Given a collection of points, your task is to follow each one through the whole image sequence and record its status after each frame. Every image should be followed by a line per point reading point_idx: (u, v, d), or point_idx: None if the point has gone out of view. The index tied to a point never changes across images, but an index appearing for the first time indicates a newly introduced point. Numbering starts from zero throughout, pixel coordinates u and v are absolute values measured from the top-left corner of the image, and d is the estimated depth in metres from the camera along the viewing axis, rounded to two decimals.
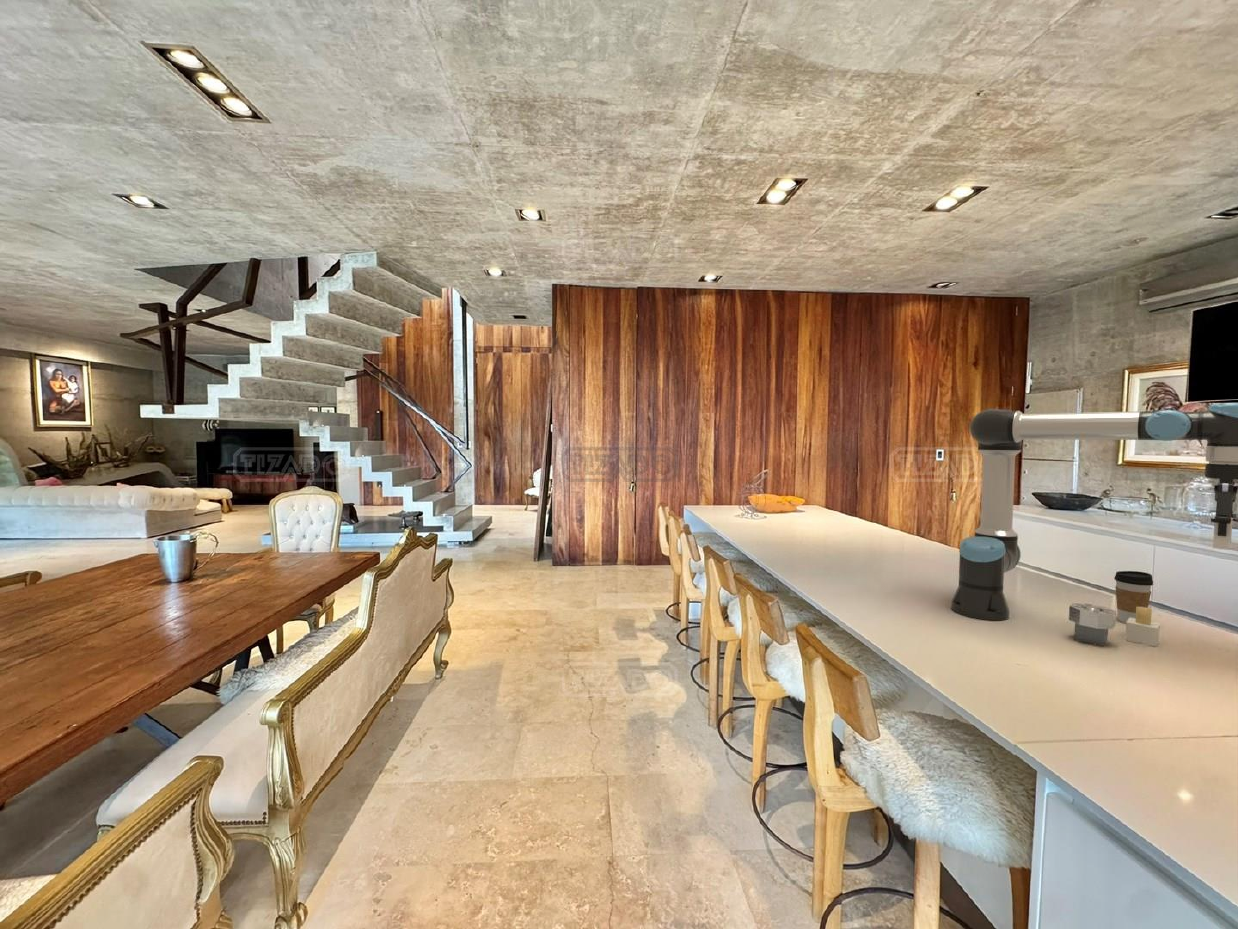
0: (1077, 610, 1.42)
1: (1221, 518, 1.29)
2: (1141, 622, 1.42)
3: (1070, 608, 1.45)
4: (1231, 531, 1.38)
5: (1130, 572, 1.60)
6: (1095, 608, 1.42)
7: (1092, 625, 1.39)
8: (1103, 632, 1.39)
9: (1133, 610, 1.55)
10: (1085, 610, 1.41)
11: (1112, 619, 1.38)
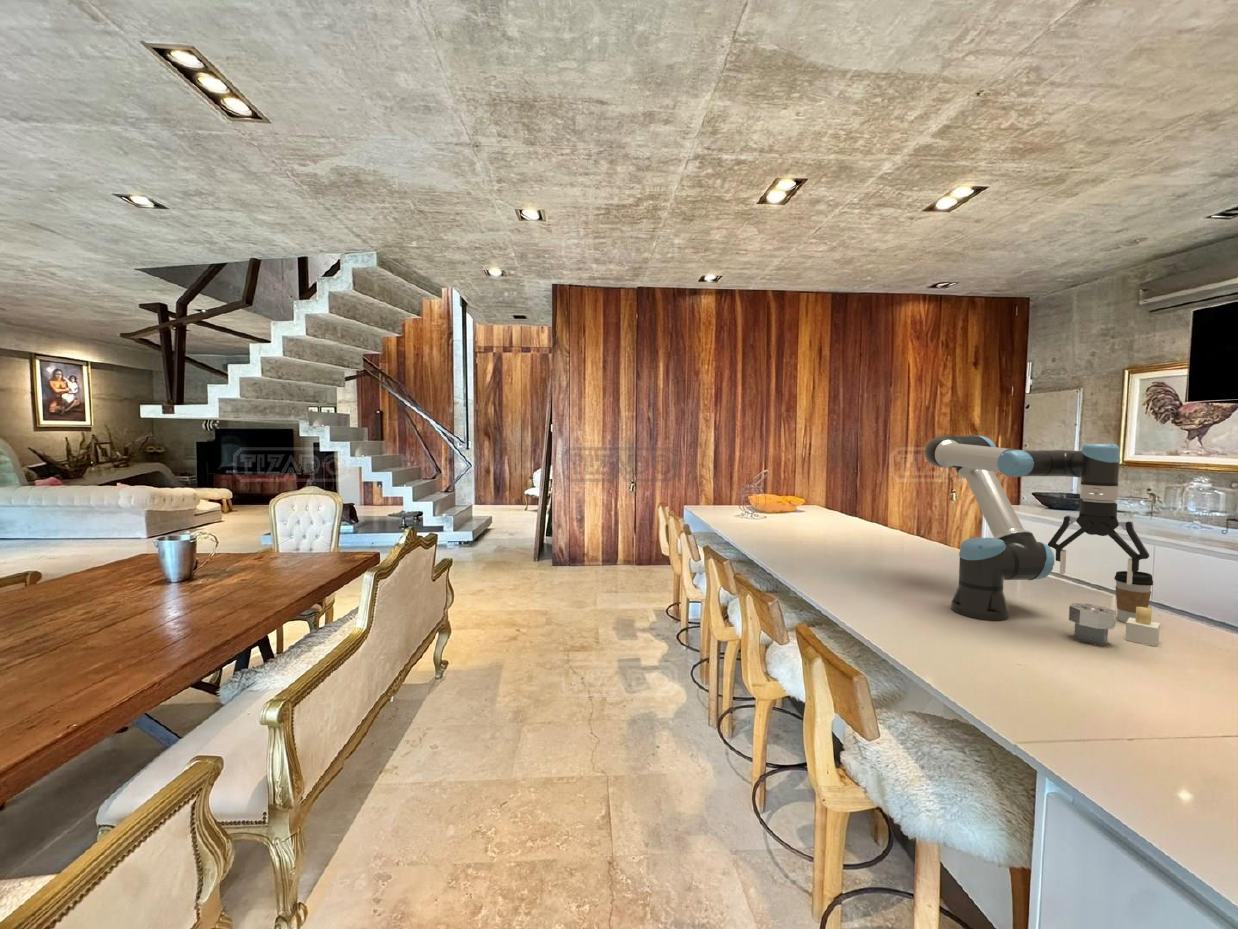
0: (1077, 610, 1.42)
1: None
2: (1141, 622, 1.42)
3: (1070, 608, 1.45)
4: (1127, 572, 1.36)
5: None
6: (1095, 608, 1.42)
7: (1092, 625, 1.39)
8: (1103, 632, 1.39)
9: (1133, 610, 1.55)
10: (1085, 610, 1.41)
11: (1112, 619, 1.38)
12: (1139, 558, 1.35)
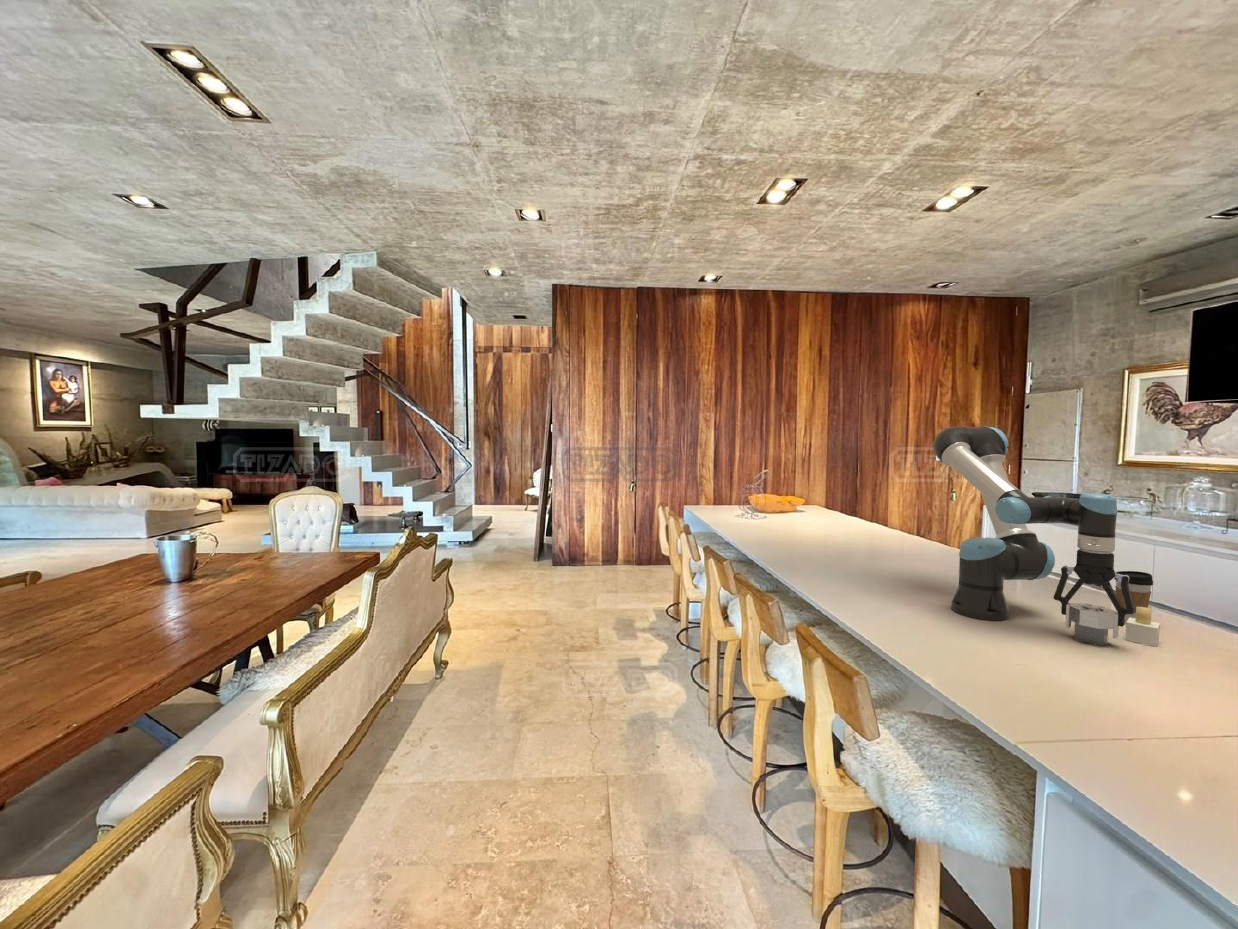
0: (1077, 610, 1.42)
1: None
2: (1141, 622, 1.42)
3: (1070, 608, 1.45)
4: (1113, 626, 1.39)
5: (1130, 572, 1.60)
6: (1095, 608, 1.42)
7: (1092, 625, 1.39)
8: (1103, 632, 1.39)
9: None
10: (1085, 610, 1.41)
11: (1112, 619, 1.38)
12: (1125, 613, 1.37)
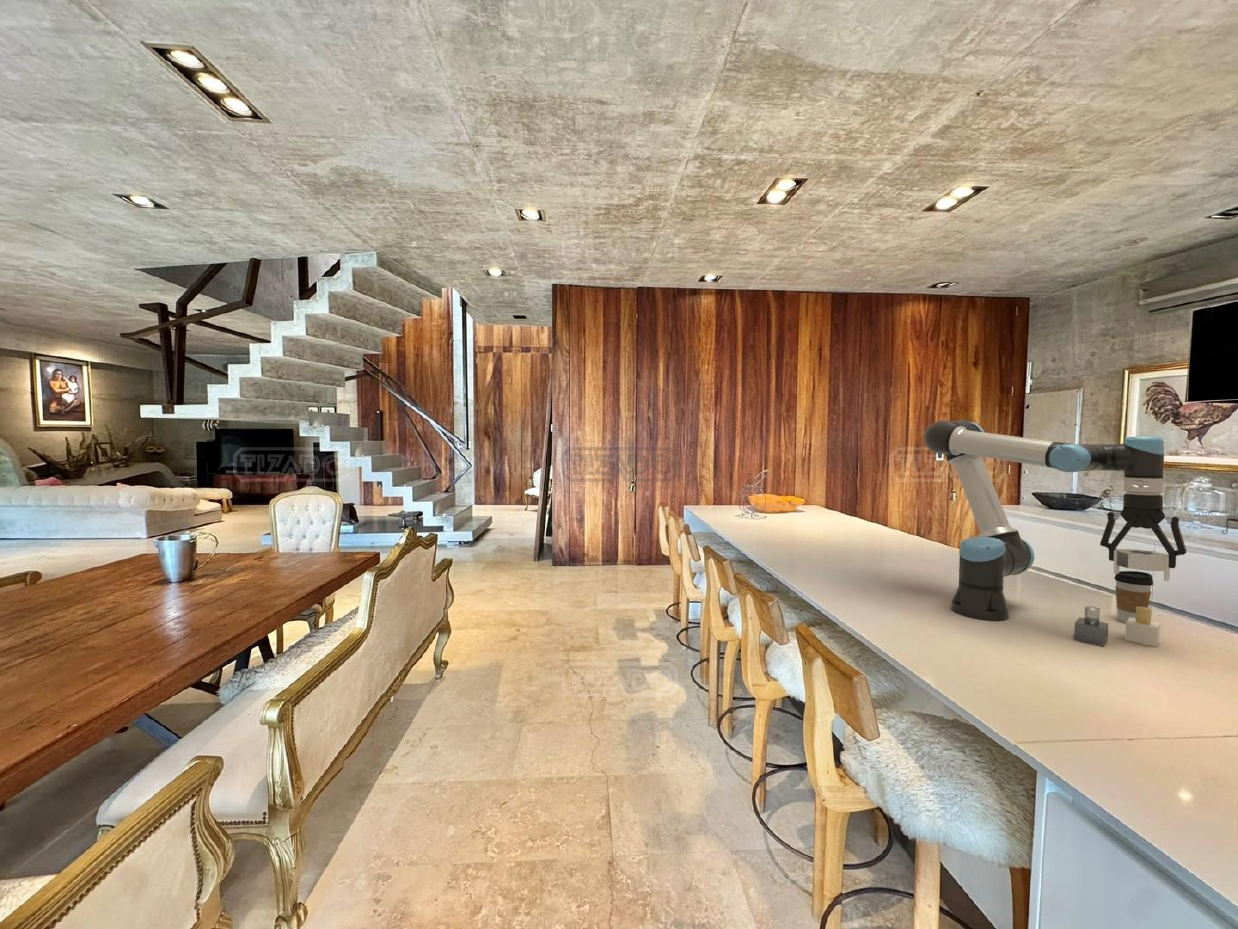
0: (1125, 554, 1.41)
1: None
2: (1141, 622, 1.42)
3: (1118, 553, 1.43)
4: (1164, 569, 1.37)
5: (1130, 572, 1.60)
6: (1095, 608, 1.42)
7: (1141, 567, 1.38)
8: (1103, 632, 1.39)
9: (1133, 610, 1.55)
10: (1134, 553, 1.40)
11: (1162, 561, 1.37)
12: (1176, 554, 1.36)
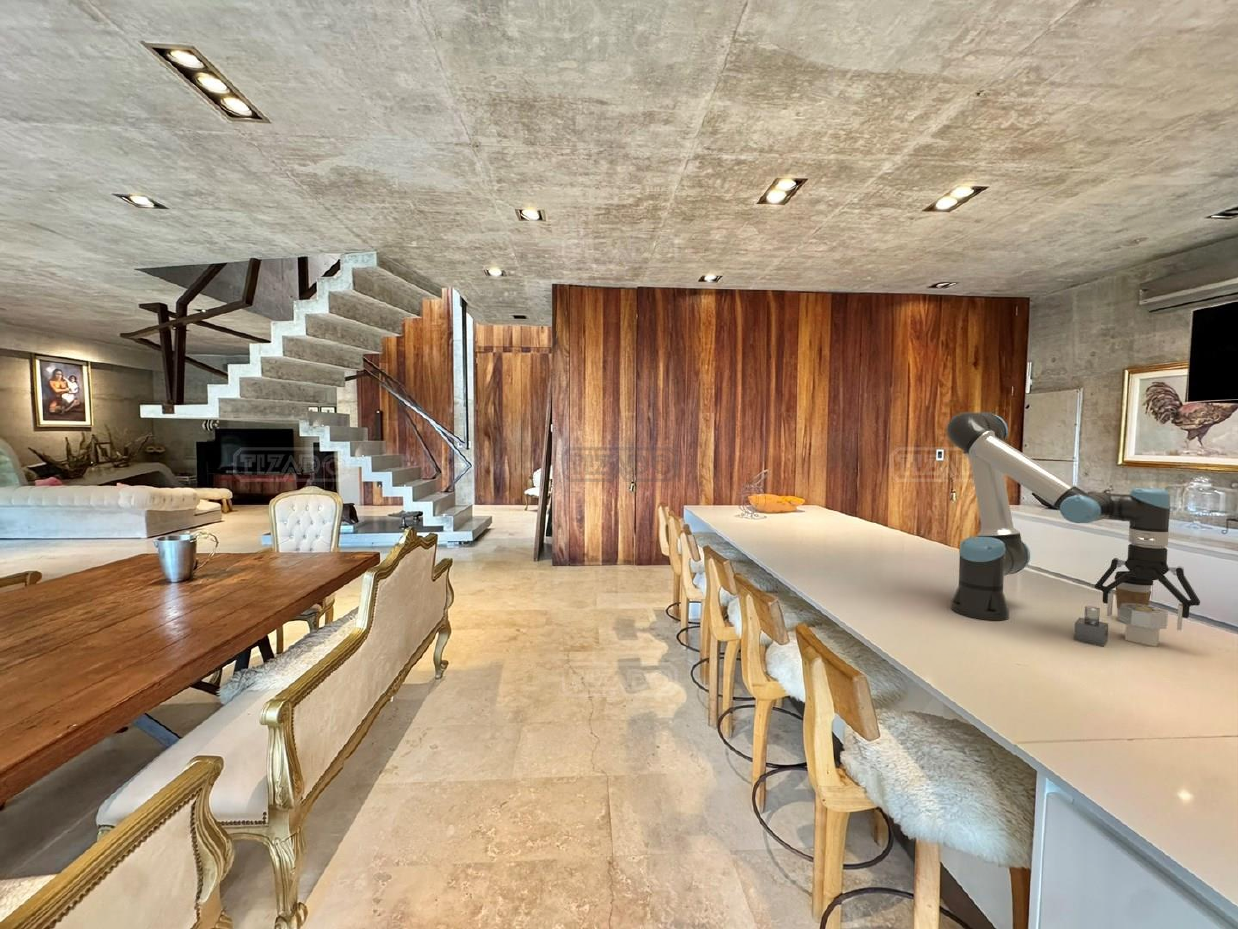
0: (1128, 610, 1.42)
1: None
2: None
3: (1121, 608, 1.45)
4: None
5: None
6: (1095, 608, 1.42)
7: (1145, 625, 1.40)
8: (1103, 632, 1.39)
9: None
10: (1137, 610, 1.41)
11: (1165, 619, 1.38)
12: (1190, 604, 1.36)
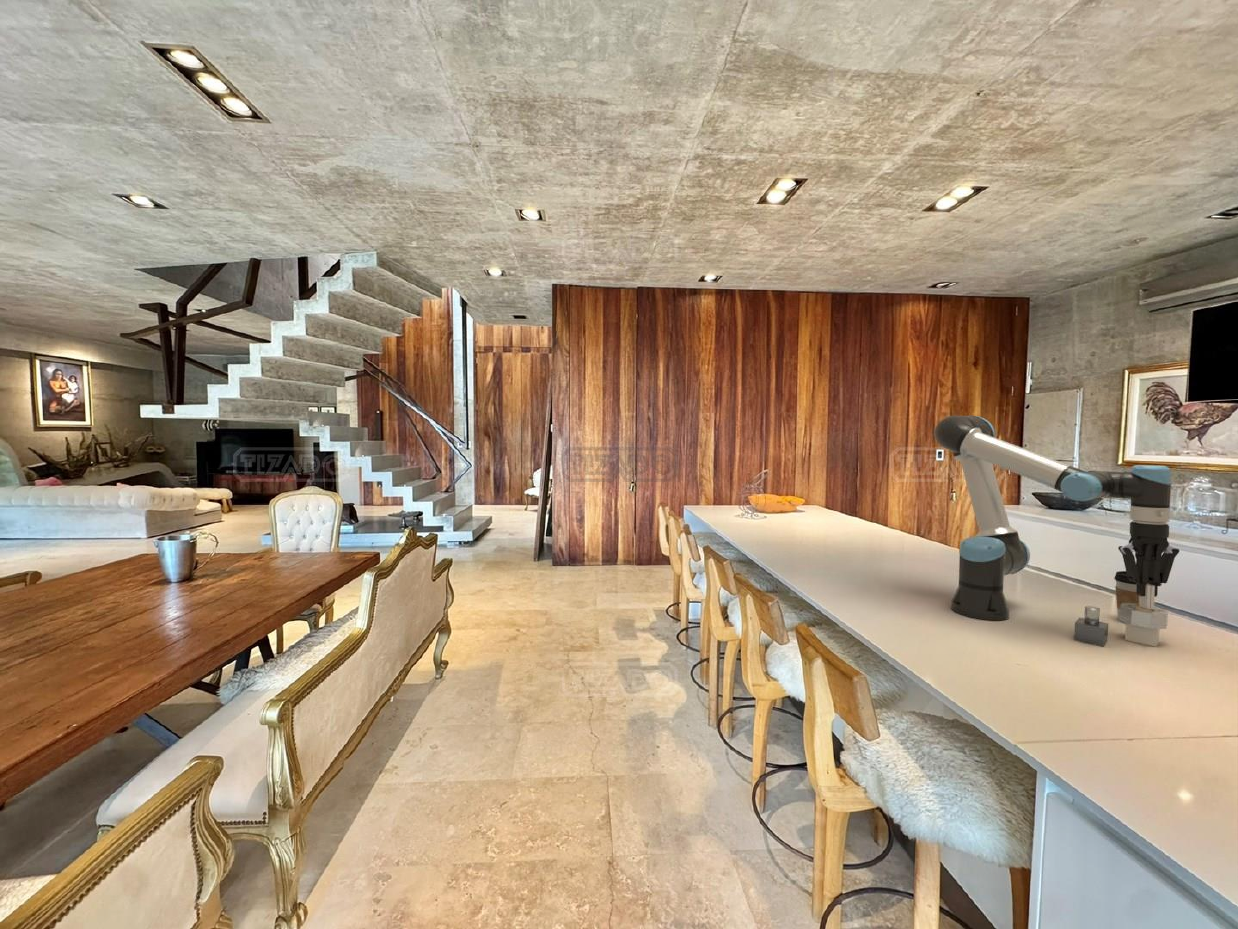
0: (1128, 610, 1.42)
1: (1131, 579, 1.43)
2: None
3: (1121, 608, 1.45)
4: (1151, 598, 1.41)
5: None
6: (1095, 608, 1.42)
7: (1145, 625, 1.40)
8: (1103, 632, 1.39)
9: None
10: (1137, 610, 1.41)
11: (1165, 619, 1.38)
12: None
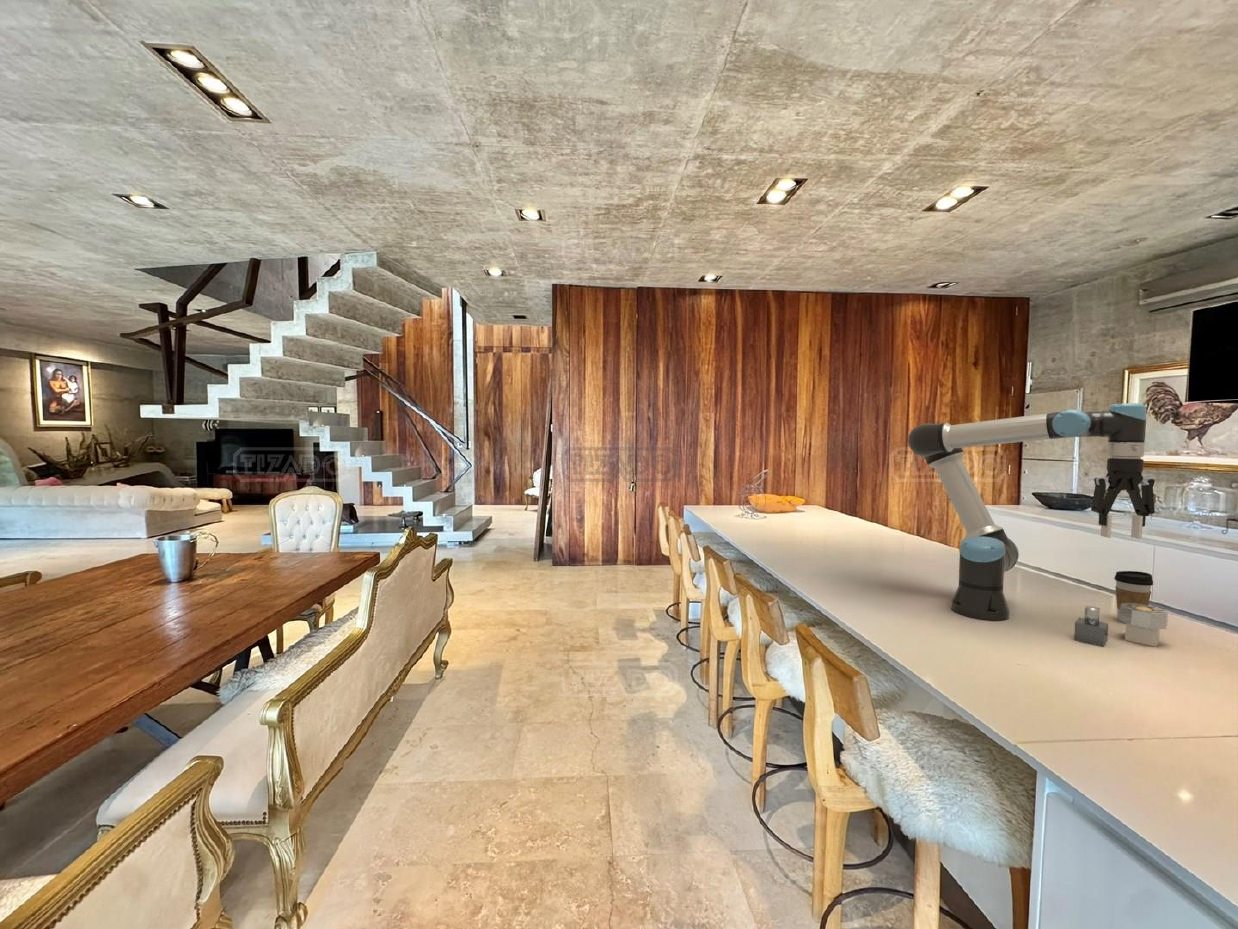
0: (1128, 610, 1.42)
1: (1094, 509, 1.51)
2: None
3: (1121, 608, 1.45)
4: (1139, 528, 1.48)
5: (1130, 572, 1.60)
6: (1095, 608, 1.42)
7: (1145, 625, 1.40)
8: (1103, 632, 1.39)
9: None
10: (1137, 610, 1.41)
11: (1165, 619, 1.38)
12: None
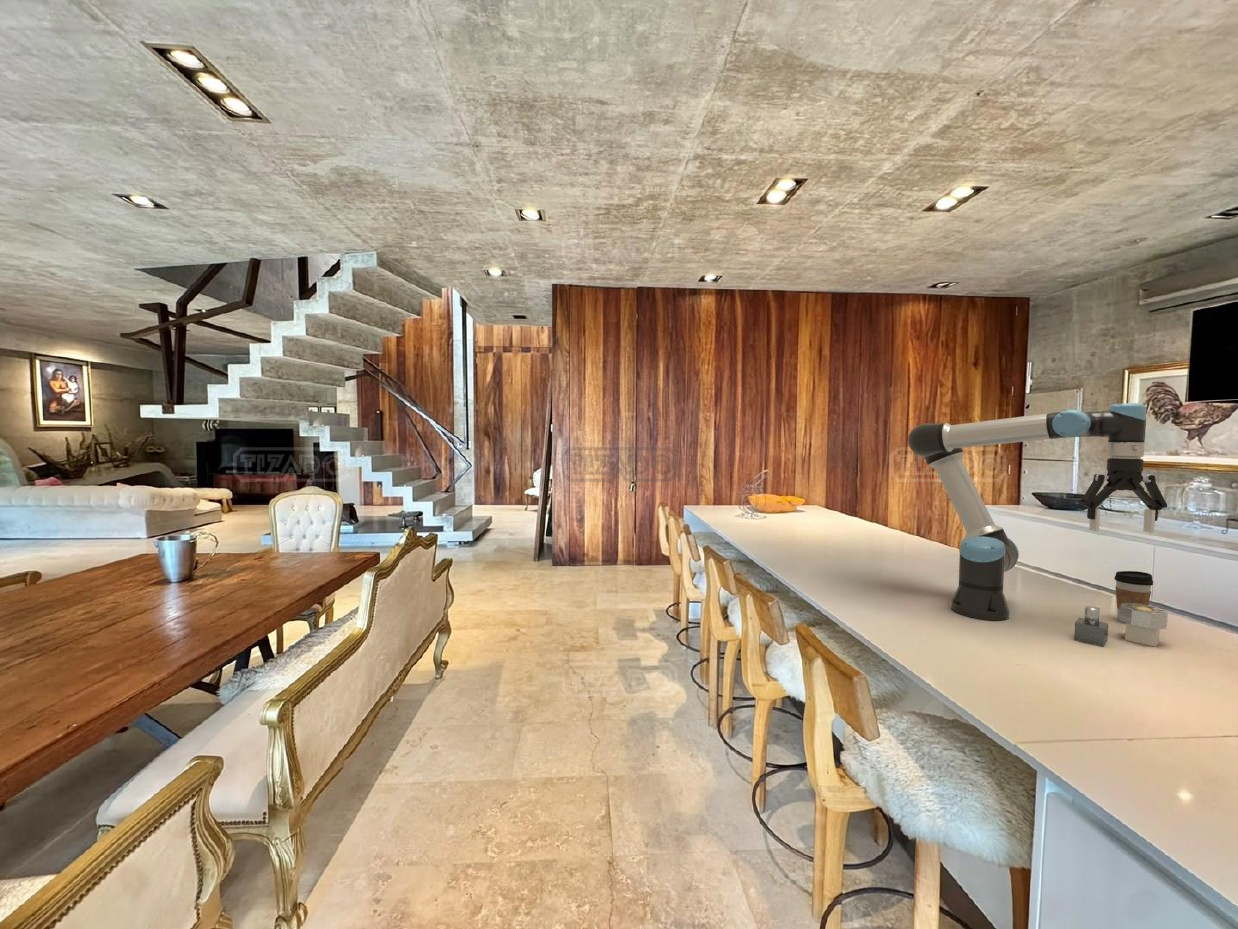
0: (1128, 610, 1.42)
1: (1083, 502, 1.52)
2: None
3: (1121, 608, 1.45)
4: (1151, 522, 1.48)
5: (1130, 572, 1.60)
6: (1095, 608, 1.42)
7: (1145, 625, 1.40)
8: (1103, 632, 1.39)
9: None
10: (1137, 610, 1.41)
11: (1165, 619, 1.38)
12: None
